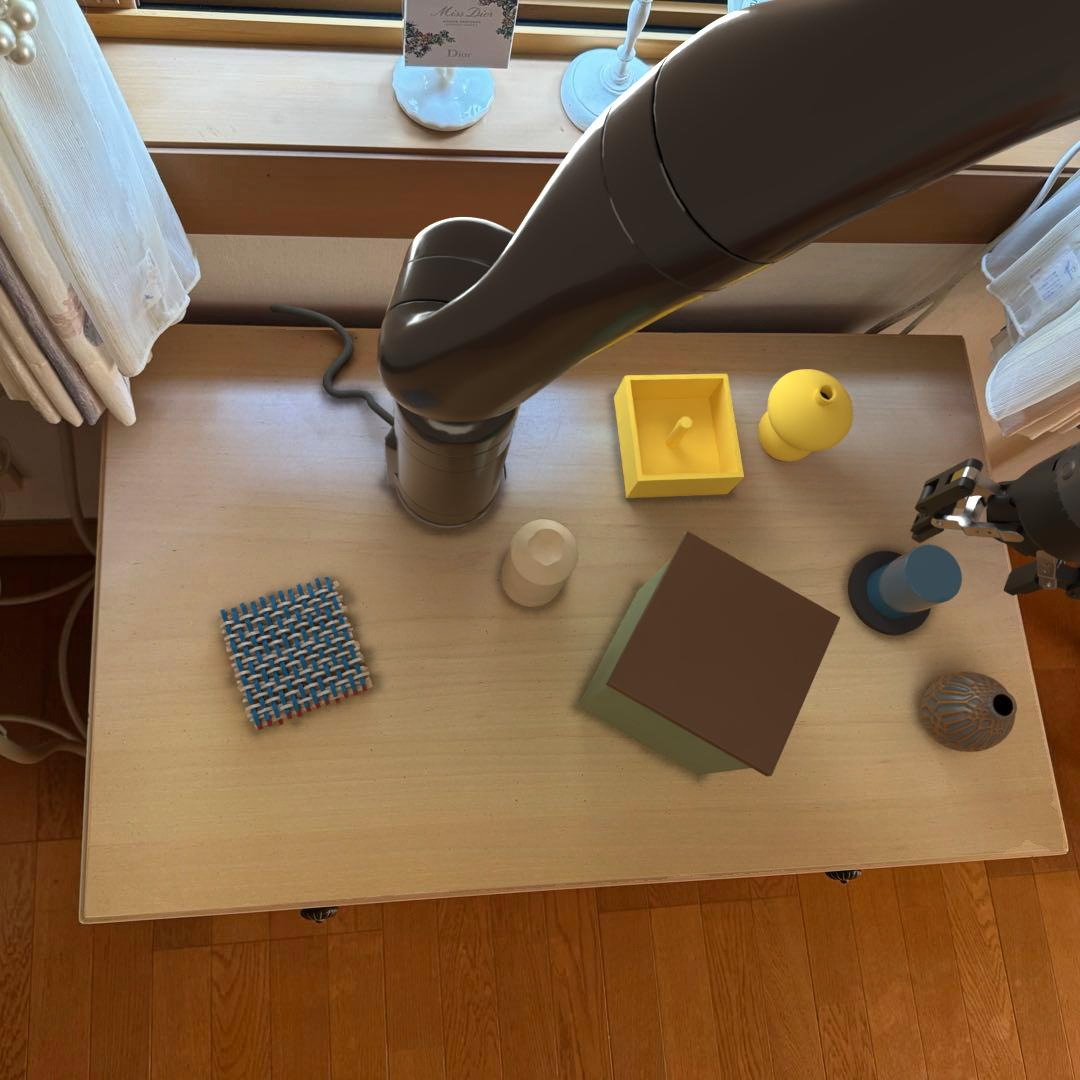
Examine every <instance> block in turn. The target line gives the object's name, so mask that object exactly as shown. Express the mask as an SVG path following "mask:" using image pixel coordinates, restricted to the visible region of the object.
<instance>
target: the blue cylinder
mask: <svg viewBox="0 0 1080 1080" xmlns="http://www.w3.org/2000/svg"><path fill="white" fill-rule="evenodd" d="M962 582H963V574H962V570H961V567H960V565H959V563H958V560H957V559H956V558H955V557H954V556H953V554H952V553H951V552H950V551H948V550H946V549H945V548H943V547H941V546H939V545H935V544H923V545H920V546H917V547H915V548H913V549H912V550H910V551H908V552H906V553H904V554H902V556H900V557H898V558H896V559H894V560H892V561H890V562H889V563H887V564H885V565H883V566H881V567H879V568H877V569H876V570H874V571H873V572H872V574H871V575H870V577H869V579H868V582H867V595H868V598H869V601H870V603H871V604H872V606H873V607H874V609H875V610H876V611H877V612H879V613H880V614H881V615H883V616H885V617H887V618H890V619H904V618H906V617H909V616H911V615H914V614H916V613H919V612H921V611H924V610H926V609H929V608H931V609H932V608H934V607H936V606H939V605H942V604H944V603H947V602H948V601H951V600H953V598H955V597H956V596H957V594H958V593H959V592H960V589H961V587H962Z"/></svg>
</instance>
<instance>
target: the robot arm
mask: <svg viewBox="0 0 1080 1080" xmlns="http://www.w3.org/2000/svg"><path fill="white" fill-rule="evenodd" d="M1078 121H1080V0H766V1H763V2H759V3H756V4H752V5H750V6H747V7H744V8H740V9H738V10H736V11H732V12H730V13H728V14H726V15H724V16H722V17H720V18H717V19H716V20H715V21H712V22H711V23H709V24H708V25H706V26H705V27H704V28H702V29H701V30H699V31H698V32H697V33H695V34H693V35H692V36H690V38H688V39H687V40H686V41H683V43H682V44H680V45H679V46H677V47H676V48H675V49H674V50H673V51H671V52H670V53H669V54H668V55H666V56H665V57H664V58H662V60H660V62H658V63H657V64H656V65H655V66H654V67H652V68H651V69H650V70H649V71H648V72H646V73H645V74H644V75H642V77H641V78H639V79H638V80H637V81H636V82H634V83H633V84H632V85H631V86H630V87H629V88H627V89H626V90H625V91H624V92H623V93H622V94H620V95H619V96H618V97H617V98H616V99H615V100H614V101H612V103H610V104H609V105H608V106H607V107H606V108H605V109H604V110H603V111H602V113H600V115H598V117H597V118H596V119H595V120H594V121H592V123H591V124H590V125H589V126H588V128H587V129H586V130H585V131H584V133H583V134H582V135H581V137H580V138H579V139H578V140H577V141H576V143H575V144H574V145H573V147H572V148H571V149H570V150H569V152H568V153H567V154H566V156H565V157H564V158H563V160H562V161H561V163H560V164H559V165H558V167H557V168H556V169H555V171H554V173H553V174H552V175H551V177H550V178H549V180H548V182H547V183H546V184H545V185H544V187H543V189H542V190H541V192H540V194H539V195H538V196H537V198H536V200H535V201H534V203H533V204H532V206H531V207H530V209H529V210H528V212H527V214H526V215H525V217H524V219H523V220H522V221H521V223H520V224H519V226H518V228H517V230H516V231H515V232H513V231H512V230H511V229H508V228H506V227H504V225H503V226H502V224H498V223H495V222H493V221H490V220H488V219H483V218H478V217H470V216H468V217H467V216H458V217H450V218H446V219H442V220H439V221H436V222H434V223H431V224H430V225H428V226H427V227H425V228H424V229H422V230H421V231H420V232H418V234H416V236H414V238H413V239H412V241H411V242H410V244H409V245H408V246H407V249H406V250H405V251H406V252H405V254H404V257H403V260H402V263H401V266H400V268H399V272H398V275H397V279H396V281H395V284H394V287H393V290H392V293H391V296H390V299H389V303H388V305H387V308H386V312H385V313H384V317H383V320H382V324H381V327H380V330H379V333H378V339H377V344H376V345H377V347H376V351H377V352H376V354H377V355H376V365H377V371H378V374H379V377H380V380H381V381H382V384H383V386H384V388H385V390H387V392H388V393H389V394H390V396H391V397H392V403H393V415H392V414H391V413H390V412H388V411H387V410H386V409H385V408H384V407H382V405H380V404H379V403H378V402H377V401H376V400H375V398H374V396H373V395H372V394H371V393H370V392H368V391H365V390H363V389H361V390H360V389H346V390H341V389H335V388H334V387H333V385H332V379H333V378H334V376H335V374H336V373H337V372H338V371H339V370H340V368H341V367H342V366H343V365H345V363H346V362H347V361H348V359H349V358H350V357H351V355H352V352H353V349H354V343H353V340H352V338H351V336H350V334H349V332H348V331H347V330H346V328H344V327H343V326H342V325H341V324H340V323H339V322H338V321H336V320H334V319H333V318H331V317H330V316H327V315H325V314H322V313H320V312H318V311H317V312H316V311H314V310H310V309H306V308H301V307H297V306H292V305H286V304H278V303H272V304H270V305H269V306H268V307H269V308H268V309H269V310H270V311H271V312H272V313H277V314H285V315H291V316H297V317H301V318H306V319H309V320H313V321H316V322H319V323H321V324H324V325H326V326H328V327H329V328H331V329H332V330H333V331H334V332H335V333H337V335H339V336H340V338H341V339H342V341H343V344H344V348H343V351H342V352H341V354H340V355H339V356H338V357H337V358H336V359H335V360H334V362H332V364H331V365H329V367H328V368H327V369H326V370H325V373H324V374H323V377H322V387H323V390H324V392H326V394H327V395H328V396H330V397H331V398H334V399H340V400H342V399H344V400H345V399H361V400H363V401H365V403H366V404H367V406H368V407H369V409H370V410H371V411H372V412H374V413H375V415H377V416H378V417H379V418H381V419H382V420H383V421H384V422H386V423H387V424H388V425H389V426H390V427H391V428H390V429H389V431H388V432H387V434H386V435H385V437H384V455H385V457H384V458H385V470H386V471H385V472H386V483H387V485H388V486H389V487H391V488H393V489H394V490H395V491H396V494H397V497H398V499H399V502H400V504H401V505H402V507H403V508H404V510H405V511H406V512H407V513H408V515H410V516H411V518H413V519H414V520H415V521H417V522H419V523H421V524H422V525H423V526H426V527H428V528H432V529H435V530H440V531H455V530H462V529H464V528H468V527H470V526H472V525H475V524H476V523H478V522H479V521H481V520H482V519H483V518H484V517H486V515H487V514H488V513H489V512H490V511H491V509H492V508H493V506H494V504H495V503H496V500H497V497H498V495H499V491H500V486H501V485H500V484H501V479H502V475H503V476H504V481H507V467H506V460H507V456H508V453H509V449H510V445H511V442H512V438H513V435H514V430H515V426H516V422H517V420H518V415H519V412H520V408H521V406H522V404H524V403H525V402H526V401H528V400H529V399H531V398H532V397H533V396H535V395H536V394H538V393H539V392H540V391H542V390H543V389H544V388H546V387H547V386H549V385H550V384H551V383H553V382H554V381H556V380H557V379H559V378H560V377H562V376H563V375H565V374H566V373H567V372H569V371H570V370H572V369H573V368H576V366H578V365H580V364H581V363H582V362H584V361H586V360H587V359H589V358H591V357H592V356H594V355H596V354H598V353H599V352H601V351H603V350H604V349H607V348H609V347H610V346H612V345H614V344H616V343H618V342H619V341H621V340H623V339H625V338H628V337H629V336H631V335H632V334H635V333H636V332H638V331H639V330H642V329H644V328H645V327H647V326H649V325H651V324H652V323H654V322H656V321H658V320H660V319H662V318H664V317H665V316H667V315H669V314H672V313H673V312H675V311H677V310H679V309H681V308H683V307H685V306H688V305H690V304H692V303H694V302H697V301H699V300H701V299H703V298H706V297H708V296H710V295H712V294H715V293H717V292H719V291H721V290H724V289H727V288H729V287H730V286H732V285H734V284H736V283H738V282H741V281H742V280H744V279H746V278H749V277H750V276H752V275H754V274H756V273H758V272H760V271H762V270H764V269H767V268H768V267H770V266H772V265H774V264H777V263H778V262H780V261H782V260H784V259H786V258H789V257H790V256H792V255H793V254H796V253H797V252H799V251H801V250H803V249H805V248H806V247H808V246H809V245H812V244H813V243H815V242H817V241H818V240H820V239H822V238H824V237H826V236H828V235H829V234H832V233H833V232H835V231H837V230H838V229H840V228H843V227H845V226H847V225H849V224H850V223H851V224H852V223H853V222H855V221H857V220H859V219H861V218H863V217H865V216H866V217H867V216H868V215H870V214H872V213H874V212H876V211H878V210H881V209H882V208H884V207H887V206H889V205H891V204H893V203H895V202H897V201H900V200H902V199H904V198H906V197H908V196H910V195H912V194H915V193H917V192H919V191H921V190H923V189H925V188H927V187H930V186H931V185H934V184H936V183H938V182H941V181H943V180H945V179H947V178H949V177H952V176H954V175H956V174H957V173H959V172H960V173H961V172H963V171H964V170H967V169H968V168H971V167H973V166H974V165H977V164H979V163H981V162H984V161H986V160H988V159H990V158H992V157H994V156H997V155H999V154H1001V153H1003V152H1005V151H1008V150H1010V149H1012V148H1014V147H1016V146H1019V145H1022V144H1024V143H1026V142H1029V141H1031V140H1034V139H1035V138H1038V137H1041V136H1043V135H1045V134H1049V133H1050V132H1052V131H1055V130H1058V129H1061V128H1062V127H1065V126H1067V125H1070V124H1073V123H1076V122H1078ZM983 468H984V463H983V461H981V460H979V459H977V458H973V457H972V458H967V459H965V460H963V461H962V462H959V463H957V464H956V465H954V466H951V467H950V468H947V469H946V470H944V471H942V472H940V473H937V475H934V476H933V477H931V478H929V479H927V480H926V481H925V482H924V485H923V487H922V490H921V493H920V496H919V498H918V501H916V503H915V506H914V510H915V511H916V512H917V514H916V515H915V518H914V521H913V523H912V526H911V527H910V530H909V532H911V533H912V535H911V537H910V538H911V539H910V540H913V541H914V542H916V543H918V544H921V543H924V542H926V541H927V540H929V539H931V538H933V537H935V536H937V535H939V534H941V533H943V532H944V531H945V530H958V531H962V532H963V533H964V535H965V536H968V537H978V538H979V537H980V538H993V539H994V540H996V541H998V542H1000V543H1003V544H1005V545H1008V546H1010V547H1011V548H1012V549H1013V550H1014V551H1016V552H1017V553H1019V554H1021V555H1023V556H1024V557H1025V558H1027V557H1032V558H1035V560H1032V561H1030V562H1028V563H1025V564H1022V565H1020V566H1017V567H1015V568H1013V569H1012V570H1011V571H1010V572H1009V574H1008V576H1007V579H1006V581H1005V584H1004V587H1003V592H1005V593H1006V594H1008V595H1010V596H1011V597H1014V596H1016V595H1028V594H1031V593H1035V592H1037V591H1040V590H1049V591H1055V590H1056V589H1057V588H1059V589H1061V590H1064V591H1065V596H1066V597H1068V598H1069V599H1072V600H1075V601H1080V440H1078V441H1076V442H1075V443H1073V444H1071V445H1069V446H1067V447H1065V448H1064V449H1062V450H1060V451H1058V452H1056V453H1054V454H1053V455H1050V456H1049V457H1047V458H1045V459H1043V460H1042V461H1040V462H1037V464H1036V463H1035V465H1033V466H1031V467H1030V468H1029V469H1027V470H1026V471H1025V472H1024V473H1023V474H1021V475H1020V476H1019V477H1018V478H1016V479H1013V480H1002V481H998V482H996V481H995V480H993V479H991V478H990V477H989V476H987V475H985V474H983V473H982V470H983ZM955 509H962V510H963V509H964V510H963V512H962V514H959V515H953V514H954V512H955ZM984 509H985V517H986V518H985V519H986V521H980V519H981V516H982V514H983V512H984ZM1066 563H1070V564H1071V563H1072V564H1075V565H1074V566H1071V565H1068V564H1066Z"/></svg>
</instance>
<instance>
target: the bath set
mask: <svg viewBox="0 0 1080 1080" xmlns="http://www.w3.org/2000/svg"><path fill="white" fill-rule="evenodd" d="M730 388H731V387H730V382H729V375H728V373H689V374H687V373H686V374H684V373H683V374H680V373H679V374H678V373H677V374H633V375H632V374H631V375H629V374H628V375H627V374H626V375H624V376H623V378H622V379H621V381H620V384H619V386H618V388H617V390H616V392H615V394H614V396H613V400H614V402H613V403H614V409H615V419H616V426H617V431H618V432H617V433H618V434H617V435H618V442H619V449H620V457H621V458H620V459H621V465H622V472H623V474H622V475H623V483H624V490H625V498H626V499H635V498H663V497H665V498H666V497H687V496H711V495H728V494H729V493H730V492H731V491H732V489H734V488H735V487H736V486H737V485H738V484H739V483H740V482H741V481H742V480H743V479H744V478H745V474H744V468H743V462H742V455H741V450H740V443H739V437H738V430H737V425H736V419H735V412H734V406H733V400H732V395H731V394H732V393H731V389H730ZM766 409H767V410H766V411H765V413H764V414H763V416H762V417H761V419H760V421H759V424H758V429H757V430H758V431H757V434H758V440H759V443H760V445H761V447H762V448H763V450H764V451H765V452H766V453H767V454H768V455H769V456H771V457H772V458H774V459H775V460H779V461H781V462H782V461H783V462H795V461H799V460H801V459H804V458H805V457H808V455H809V454H811V452H822V451H826V450H829V449H832V448H833V447H835V446H837V445H838V444H840V442H842V441H843V440H844V439H845V438H846V437H847V435H849V432H850V430H851V428H852V424H853V420H854V408H853V403H852V400H851V397H850V394H849V393H848V391H847V390H846V388H845V387H844V385H842V383H840V381H838V380H837V379H836V378H835V377H834V376H832V375H831V374H829V373H827V372H823V371H821V370H818V369H814V368H813V369H812V368H806V369H805V368H803V369H801V368H800V369H796V370H792V371H790V372H788V373H786V374H784V375H783V376H781V377H780V378H779V379H778V380H777V381H776V383H775V384H774V385H773V386H772V388H771V390H770V392H769V395H768V399H767V408H766Z"/></svg>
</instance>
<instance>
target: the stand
mask: <svg viewBox="0 0 1080 1080" xmlns="http://www.w3.org/2000/svg"><path fill="white" fill-rule="evenodd" d="M840 620H841V616H839V615H838V614H836V613H835V612H833V611H830V610H828V609H827V608H825V607H823V606H822V605H820V604H818V603H816V602H814V601H813V600H811V599H809V598H807V597H806V596H804V595H802V594H800V593H799V592H797V591H795V590H793V589H791V588H789V587H787V586H786V585H784V584H783V583H781V582H779V581H777V580H775V579H774V578H772V577H770V576H769V575H766V574H765V573H763V572H761V571H759V570H758V569H756V568H755V567H753V566H750V565H749V564H747V563H746V562H743V561H742V560H740V559H738V558H736V557H735V556H734V555H731V554H729V553H728V552H726V551H724V550H722V549H721V548H719V547H717V546H715V545H713V544H711V543H710V542H708V541H707V540H704V539H703V538H701V537H699V536H697V535H696V534H694V533H692V532H690V531H689V530H686V531H685V532H684V533H683V534H682V536H681V537H680V540H679V542H678V544H677V545H676V548H675V550H674V552H673V554H672V556H671V557H670V559H669V560H668V561H666V563H665V564H664V565H663V566H662V567H661V568H660V569H658V571H656V572H655V574H653V575H652V576H651V578H649V579H648V580H647V582H645V583H644V584H643V585H642V587H640V588H639V589H638V590H637V592H636V594H635V596H634V598H633V600H632V602H631V604H630V605H629V608H628V609H627V611H626V613H625V614H624V617H623V618H622V621H621V623H620V624H619V626H618V628H617V630H616V631H615V634H614V636H613V638H612V640H611V641H610V644H609V645H608V648H607V649H606V651H605V653H604V654H603V656H602V659H601V661H600V662H599V664H598V666H597V668H596V670H595V672H594V674H593V676H592V678H591V680H590V681H589V683H588V686H587V687H586V690H585V691H584V693H583V695H582V697H581V699H580V700H579V702H578V705H577V707H578V708H580V709H582V710H583V711H585V712H587V713H588V714H591V715H592V716H594V717H595V718H597V719H599V720H601V721H602V722H604V723H605V724H608V725H609V726H611V727H612V728H615V729H616V730H618V731H619V732H622V733H623V734H625V735H627V736H629V737H631V738H632V739H634V740H635V741H637V742H639V743H641V744H642V745H644V746H646V747H648V748H649V749H651V750H653V751H655V752H656V753H658V754H660V755H662V756H663V757H665V758H667V759H669V760H671V761H672V762H674V763H676V764H677V765H678V766H681V767H683V768H685V769H687V770H688V771H690V772H691V773H693V774H695V775H697V776H703V775H710V774H712V775H713V774H717V773H727V772H733V771H740V770H747V769H752V770H754V771H756V772H758V773H760V774H761V775H763V776H765V777H772V776H773V774H774V773H775V770H776V767H777V766H778V763H779V760H780V758H781V756H782V753H783V751H784V750H785V749H784V748H785V747H786V745H787V742H788V740H789V738H790V735H791V733H792V731H793V729H794V726H795V724H796V722H797V719H798V716H799V715H800V712H801V710H802V708H803V705H804V703H805V700H806V698H807V697H808V693H809V692H810V689H811V686H812V684H813V682H814V680H815V678H816V675H817V674H818V670H819V669H820V666H821V663H822V662H823V659H824V657H825V655H826V652H827V650H828V647H829V645H830V643H831V641H832V638H833V636H834V633H835V631H836V629H837V627H838V625H839V622H840Z"/></svg>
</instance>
